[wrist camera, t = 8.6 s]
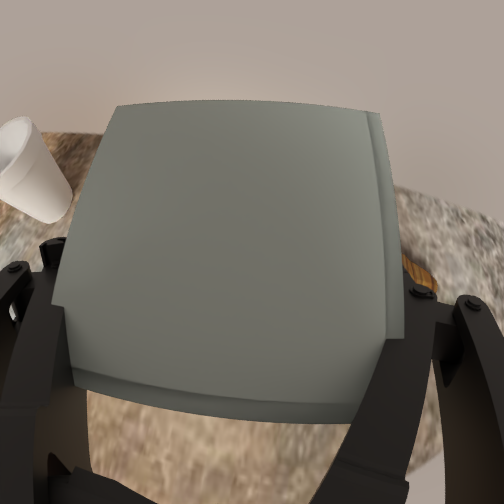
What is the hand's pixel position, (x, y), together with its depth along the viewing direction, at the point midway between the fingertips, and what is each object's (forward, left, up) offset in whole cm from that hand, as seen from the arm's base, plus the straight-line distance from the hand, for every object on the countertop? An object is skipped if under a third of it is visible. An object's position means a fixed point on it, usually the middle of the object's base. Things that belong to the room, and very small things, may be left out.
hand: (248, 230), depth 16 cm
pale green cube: (+1, -3, -4) cm, 5 cm away
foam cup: (-30, +5, -17) cm, 35 cm away
